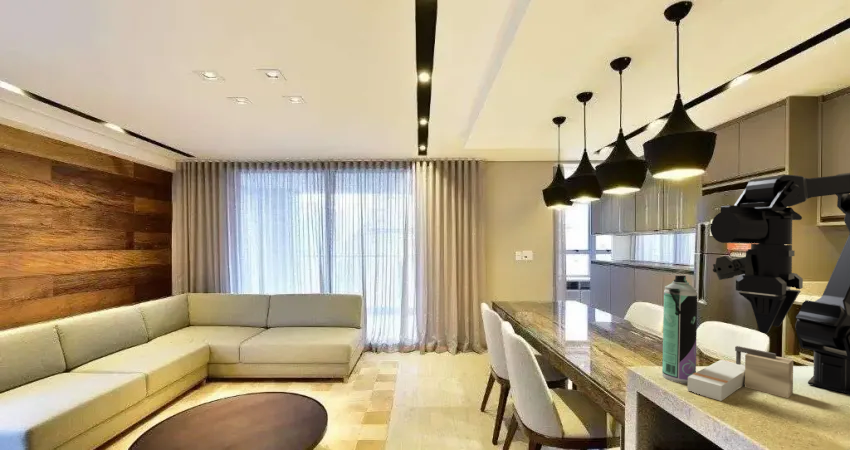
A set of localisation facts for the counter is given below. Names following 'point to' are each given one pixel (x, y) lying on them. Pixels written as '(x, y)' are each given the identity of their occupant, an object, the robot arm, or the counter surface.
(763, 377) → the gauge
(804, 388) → the counter surface
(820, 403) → the counter surface
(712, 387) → the board
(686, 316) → the spray can
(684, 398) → the counter surface
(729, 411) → the counter surface
